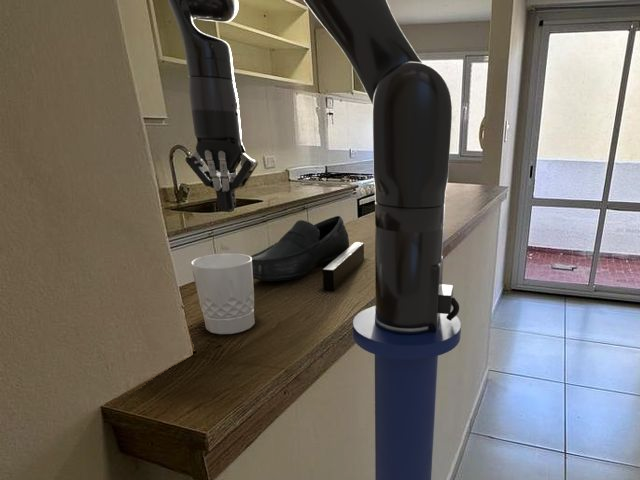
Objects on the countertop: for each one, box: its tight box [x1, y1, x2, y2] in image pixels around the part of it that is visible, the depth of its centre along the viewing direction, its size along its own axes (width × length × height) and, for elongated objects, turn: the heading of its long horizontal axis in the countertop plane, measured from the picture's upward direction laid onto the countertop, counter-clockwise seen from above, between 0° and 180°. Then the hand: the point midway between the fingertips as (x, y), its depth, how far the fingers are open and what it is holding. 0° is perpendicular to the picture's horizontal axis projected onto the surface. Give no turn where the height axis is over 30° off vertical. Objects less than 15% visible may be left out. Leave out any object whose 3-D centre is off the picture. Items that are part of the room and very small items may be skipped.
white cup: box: [190, 252, 256, 335], centre depth 64 cm, size 8×8×10 cm
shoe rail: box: [322, 241, 365, 292], centre depth 91 cm, size 2×22×4 cm, turn 172°
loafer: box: [249, 215, 350, 282], centre depth 91 cm, size 10×29×10 cm, turn 160°
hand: (228, 211), depth 83 cm, fingers closed
